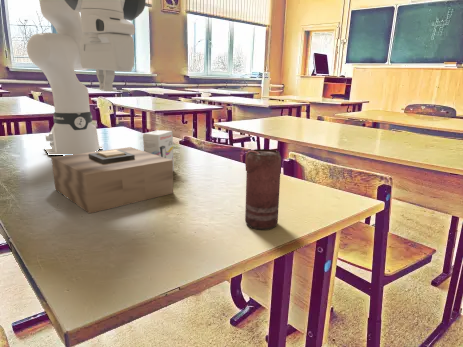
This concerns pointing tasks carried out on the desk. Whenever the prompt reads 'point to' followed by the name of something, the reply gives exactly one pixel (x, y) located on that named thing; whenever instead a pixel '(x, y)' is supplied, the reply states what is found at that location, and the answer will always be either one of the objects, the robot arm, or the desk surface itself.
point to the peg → (111, 153)
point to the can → (262, 188)
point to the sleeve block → (112, 178)
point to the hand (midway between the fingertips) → (106, 91)
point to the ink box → (159, 143)
